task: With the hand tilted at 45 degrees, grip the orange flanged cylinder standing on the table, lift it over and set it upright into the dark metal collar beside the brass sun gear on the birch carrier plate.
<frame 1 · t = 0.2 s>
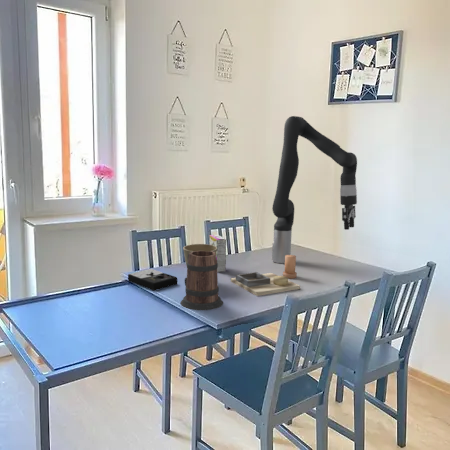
hand: (349, 228, 224), 22 cm above the table, tool pointing down, fingers open, 8 cm apart
candy bar box: (217, 269, 231), on the table
plant pot: (199, 282, 209), on the table
carrier plate: (264, 285, 206), on the table
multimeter: (152, 284, 207), on the table
tankard: (198, 300, 185), on the table
orange flanged cylinder: (289, 276, 220), on the table
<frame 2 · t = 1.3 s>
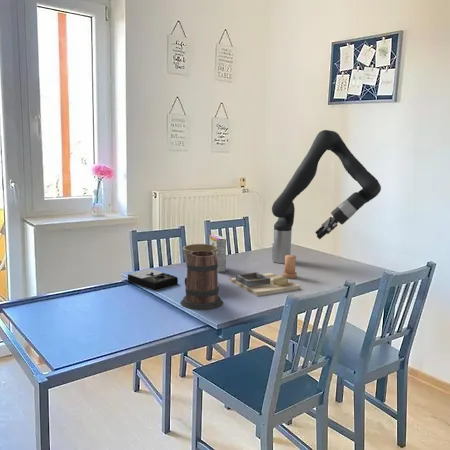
hand: (317, 235, 215), 20 cm above the table, tool tilted 45°, fingers open, 8 cm apart
nothing on the table moved.
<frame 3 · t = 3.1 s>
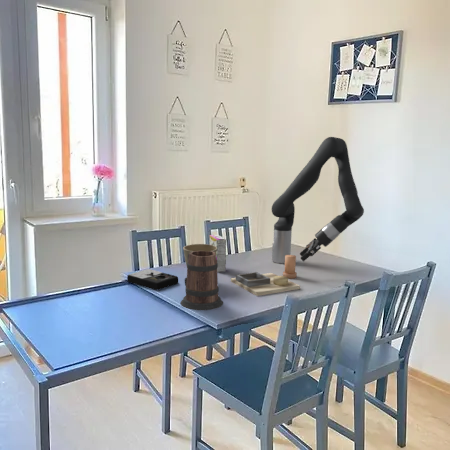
hand: (301, 257, 218), 10 cm above the table, tool tilted 45°, fingers open, 8 cm apart
nothing on the table moved.
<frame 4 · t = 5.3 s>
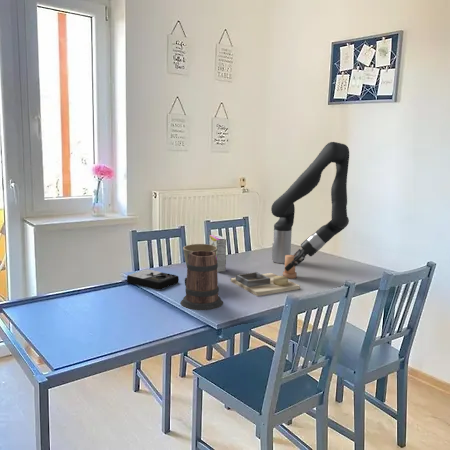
hand: (286, 267, 219), 4 cm above the table, tool tilted 45°, fingers closed on orange flanged cylinder, 5 cm apart
orange flanged cylinder: (289, 276, 220), on the table, touching gripper
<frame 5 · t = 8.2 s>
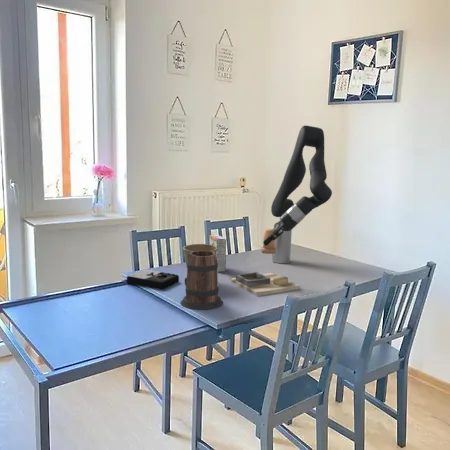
hand: (264, 242, 207), 18 cm above the table, tool tilted 45°, fingers closed on orange flanged cylinder, 5 cm apart
orange flanged cylinder: (268, 252, 207), point 14 cm above the table, touching gripper
when the fingers open (7 cm above the table, at t = 10.9 s): orange flanged cylinder drops 1 cm, resting on carrier plate.
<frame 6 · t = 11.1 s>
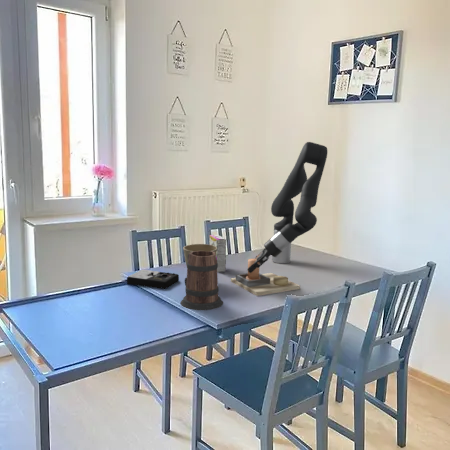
hand: (249, 269, 204), 7 cm above the table, tool tilted 45°, fingers open, 6 cm apart
orange flanged cylinder: (253, 282, 205), point 2 cm above the table, touching carrier plate
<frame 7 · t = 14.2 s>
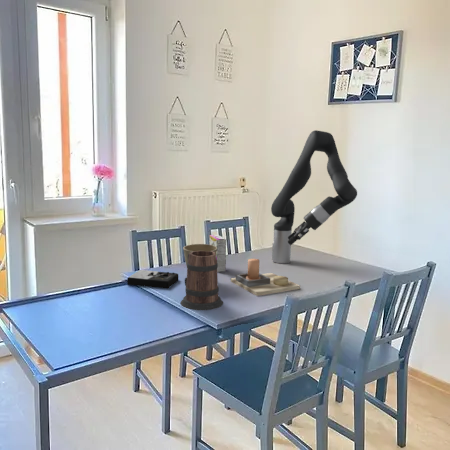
hand: (289, 241, 205), 19 cm above the table, tool tilted 45°, fingers open, 8 cm apart
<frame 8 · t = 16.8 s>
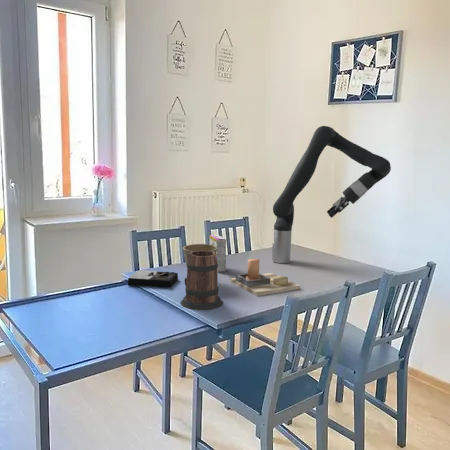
hand: (328, 214, 222), 29 cm above the table, tool tilted 45°, fingers open, 8 cm apart
at the end: orange flanged cylinder 0.2 cm from the target spot on the carrier plate, point 1.5 cm above the carrier plate's base; orange flanged cylinder tilted 0°; the gripper is holding nothing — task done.
